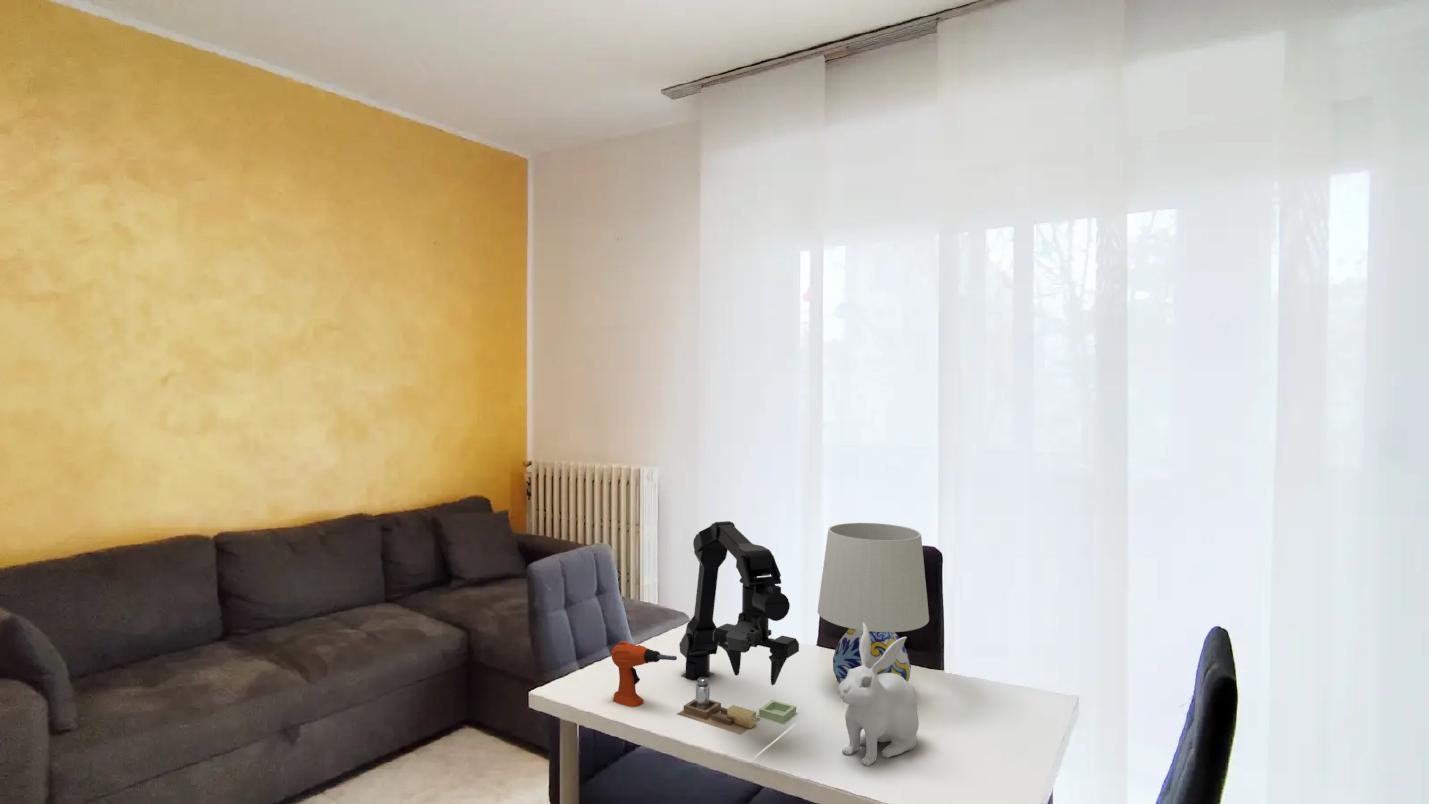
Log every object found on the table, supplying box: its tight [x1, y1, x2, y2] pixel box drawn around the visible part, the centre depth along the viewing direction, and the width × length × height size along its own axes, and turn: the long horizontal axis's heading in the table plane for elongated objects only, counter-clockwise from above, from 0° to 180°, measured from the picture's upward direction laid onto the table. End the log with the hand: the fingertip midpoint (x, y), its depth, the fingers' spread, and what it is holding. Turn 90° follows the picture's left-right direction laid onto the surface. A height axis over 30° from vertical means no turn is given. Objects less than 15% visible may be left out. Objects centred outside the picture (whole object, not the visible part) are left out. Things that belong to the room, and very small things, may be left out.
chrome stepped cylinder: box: [695, 677, 711, 710], centre depth 168 cm, size 3×3×8 cm
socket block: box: [676, 698, 762, 735], centre depth 165 cm, size 9×17×2 cm, turn 57°
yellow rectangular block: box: [727, 704, 757, 729], centre depth 162 cm, size 2×6×3 cm, turn 57°
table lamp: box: [817, 522, 930, 685], centre depth 182 cm, size 27×27×40 cm
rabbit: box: [837, 622, 920, 767], centre depth 152 cm, size 12×21×25 cm, turn 128°
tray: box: [756, 699, 799, 726], centre depth 167 cm, size 7×7×2 cm
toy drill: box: [610, 640, 678, 708], centre depth 170 cm, size 5×19×15 cm, turn 60°
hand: (754, 679), depth 158 cm, fingers open, 9 cm apart
